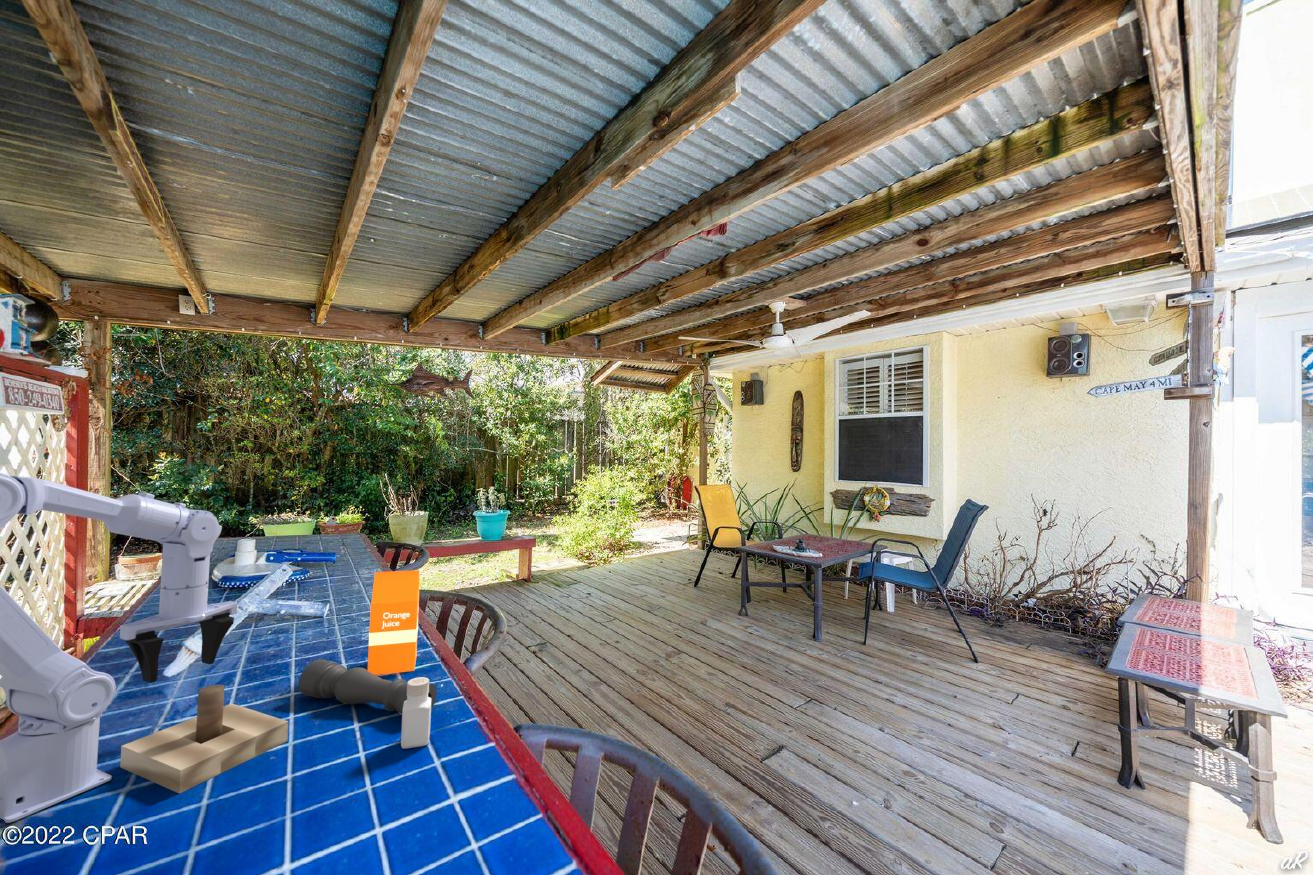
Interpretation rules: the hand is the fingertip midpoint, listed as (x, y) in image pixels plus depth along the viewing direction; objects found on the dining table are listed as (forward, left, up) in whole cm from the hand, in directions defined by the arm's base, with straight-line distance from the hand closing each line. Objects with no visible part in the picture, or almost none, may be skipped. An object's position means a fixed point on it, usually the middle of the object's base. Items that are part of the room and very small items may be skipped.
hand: (180, 671), depth 83 cm
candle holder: (+18, -5, -7) cm, 20 cm away
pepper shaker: (+14, -35, -10) cm, 39 cm away
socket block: (-1, -10, -10) cm, 14 cm away
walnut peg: (-1, -10, -10) cm, 14 cm away
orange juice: (+34, -8, -10) cm, 36 cm away
